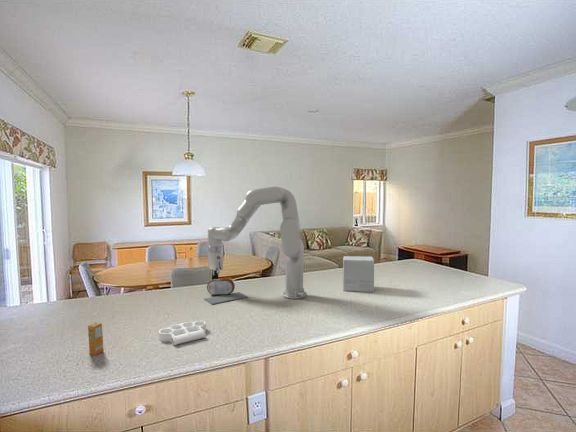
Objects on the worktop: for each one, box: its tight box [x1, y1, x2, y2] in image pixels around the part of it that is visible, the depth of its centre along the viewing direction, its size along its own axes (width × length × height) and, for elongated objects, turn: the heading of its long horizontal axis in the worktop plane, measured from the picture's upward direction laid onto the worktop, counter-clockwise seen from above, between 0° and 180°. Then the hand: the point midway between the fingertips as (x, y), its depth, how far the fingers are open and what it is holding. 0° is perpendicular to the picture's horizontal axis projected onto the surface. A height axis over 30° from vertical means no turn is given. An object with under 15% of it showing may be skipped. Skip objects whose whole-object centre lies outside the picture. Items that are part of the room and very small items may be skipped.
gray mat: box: [204, 291, 249, 306], centre depth 171 cm, size 10×20×1 cm, turn 126°
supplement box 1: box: [87, 322, 104, 356], centre depth 111 cm, size 3×3×10 cm
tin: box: [206, 278, 236, 296], centre depth 177 cm, size 15×3×8 cm, turn 84°
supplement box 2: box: [342, 255, 375, 293], centre depth 189 cm, size 17×13×18 cm
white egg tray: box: [158, 320, 207, 346], centre depth 125 cm, size 3×18×15 cm
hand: (215, 281), depth 182 cm, fingers closed
